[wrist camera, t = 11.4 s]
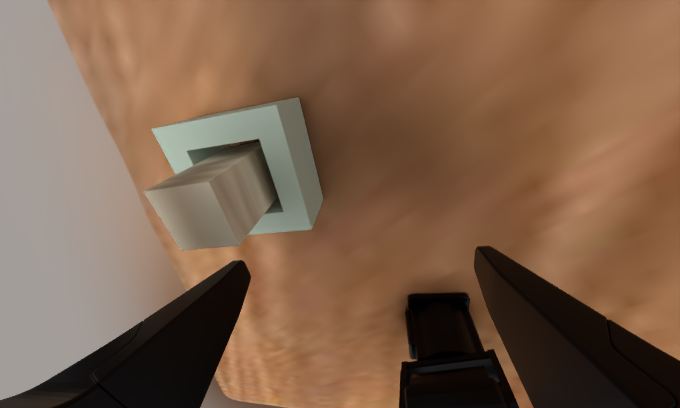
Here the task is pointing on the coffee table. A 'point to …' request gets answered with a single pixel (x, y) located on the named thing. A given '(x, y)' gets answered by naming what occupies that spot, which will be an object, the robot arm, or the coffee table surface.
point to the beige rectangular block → (216, 198)
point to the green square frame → (279, 149)
